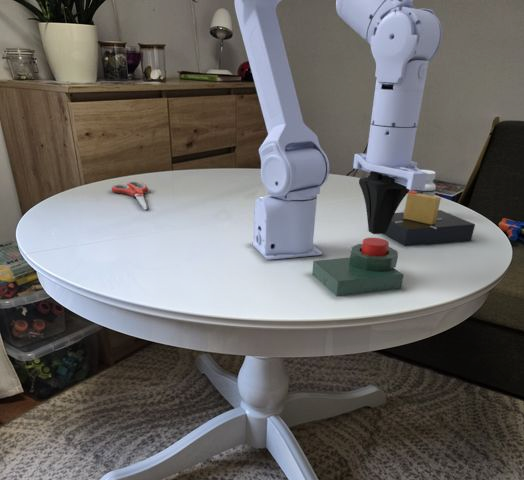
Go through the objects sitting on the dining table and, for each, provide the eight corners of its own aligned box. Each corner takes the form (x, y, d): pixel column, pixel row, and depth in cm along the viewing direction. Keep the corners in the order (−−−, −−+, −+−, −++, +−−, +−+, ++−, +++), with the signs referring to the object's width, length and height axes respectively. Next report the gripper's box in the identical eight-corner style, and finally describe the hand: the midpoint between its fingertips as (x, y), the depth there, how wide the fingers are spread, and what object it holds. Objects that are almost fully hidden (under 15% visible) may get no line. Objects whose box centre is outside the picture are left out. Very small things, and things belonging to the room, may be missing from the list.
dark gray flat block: (407, 248, 83) (410, 230, 81) (375, 229, 91) (377, 213, 90) (474, 242, 87) (478, 224, 85) (437, 225, 96) (440, 209, 94)
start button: (369, 258, 67) (371, 246, 66) (356, 250, 70) (358, 238, 69) (391, 256, 68) (393, 244, 67) (378, 248, 71) (380, 236, 70)
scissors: (144, 210, 98) (143, 203, 97) (108, 190, 113) (107, 183, 112) (178, 206, 102) (177, 199, 101) (139, 186, 117) (138, 180, 116)
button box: (336, 296, 64) (339, 268, 62) (311, 274, 71) (313, 247, 69) (408, 288, 68) (414, 260, 66) (378, 267, 74) (382, 242, 72)
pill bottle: (398, 213, 103) (406, 169, 98) (419, 211, 104) (427, 168, 100) (413, 220, 98) (422, 174, 94) (434, 218, 100) (444, 173, 95)
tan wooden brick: (435, 223, 86) (441, 195, 83) (431, 225, 84) (437, 197, 82) (407, 216, 89) (412, 190, 86) (403, 218, 88) (407, 191, 85)
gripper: (458, 132, 56) (433, 246, 63) (390, 119, 67) (375, 216, 74) (405, 132, 54) (385, 250, 60) (345, 119, 65) (334, 219, 72)
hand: (377, 232), depth 67 cm, fingers closed
